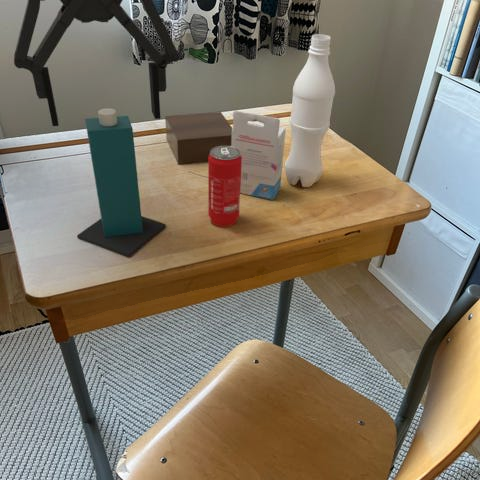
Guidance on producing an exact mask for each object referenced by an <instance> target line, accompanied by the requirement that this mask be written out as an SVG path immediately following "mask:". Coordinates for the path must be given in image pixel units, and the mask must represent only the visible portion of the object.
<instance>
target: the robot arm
mask: <svg viewBox="0 0 480 480" xmlns="http://www.w3.org/2000/svg"><path fill="white" fill-rule="evenodd" d="M45 1H46V0H27V3H26V7H25V11H24V16H23V19H22V23H21V25H20V26H21V27H20V30H19V35H18V38H17V42H16V46H15V51H14V53H13V54H14V55H13V64H14V66H15V67H16V68H17V69H24V70H27V71H29V72H30V73H31V75H32V79H33V83H34V88H35V93H36V96H37V98H38V99H39V100H41V99H42V100H43V99H47V100H46V101H47V105H48V110H49V114H50V120H51V125H52V127H59V117H58V113H57V107H56V102H55V98H54V92H53V87H52V82H51V81H52V80H51V76H50V71H49V67H48V66H46V64H47V62H48V61H49V59H50V57H51V56H52V55H53V52H54V51H55V49H56V47H57V46H58V45H59V42H61V39H62V38H63V36H64V35H65V33H66V32H67V30H68V28H69V27H70V26H71V25H72V23H73V21H74V20H76V21H79V22H81V23H82V24H88V23H92V22H99V23H109V21H111V20H112V19H113V18H115V20H117V22H118V23H119V24H120V25H121V26H122V27H123V28H124V29H125V30H126V32H128V33H129V35H130V36H131V37H132V38H133V40H135V42H136V43H137V44H138V45H139V46H140V48H142V50H143V51H144V52H145V53H146V54H147V55H148V56H149V57H150V58H151V60H152V62H148V77H149V79H148V80H149V91H150V105H151V107H150V108H151V114H152V115H153V117H154V119H155V120H160V119H161V118H162V117H161V103H160V102H161V101H160V93H162V92H166V90H167V70H166V69H167V67H168V64H171V63H174V62H175V63H176V62H178V60H179V59H180V54H179V52H178V50H177V48H176V46H175V44H174V42H173V40H172V37H171V36H170V33H169V32H168V29H167V27H166V25H165V24H164V21H163V19H162V17H161V15H160V13H159V11H158V9H157V7H156V5H155V3H154V2H153V0H139V1H140V4H141V5H142V7H143V9H144V11H145V13H146V15H147V17H148V19H149V21H150V23H151V25H152V27H153V28H154V31H155V33H156V34H157V37H158V38H159V40H160V43H161V44H162V47H163V48H164V50H162V51H160V50H159V49H158V48H157V47H156V46H155V44H154V43H153V42H152V41H151V40H150V39H149V37H148V36H147V35H146V34H145V33H144V32H143V30H142V29H141V28H140V27H139V26H138V25H137V24H136V22H135V21H134V20H133V19H132V17H131V16H130V15H129V14H128V13H127V11H126V10H125V9H124V8H123V7H122V6H121V4H122V2H123V0H59V1H60V3H62V5H61V6H60V9H59V10H58V12H57V15H56V17H55V18H54V20H53V21H52V23H51V25H50V26H49V28H48V30H47V32H46V33H45V35H44V37H42V40H41V42H40V43H39V45H38V47H37V48H36V49H35V51H34V54H32V56H30V55H28V54H29V50H30V48H31V44H32V40H33V35H34V31H35V27H36V24H37V20H38V17H39V14H40V13H39V12H40V8H41V2H45Z"/></svg>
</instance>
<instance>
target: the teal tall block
mask: <svg viewBox="0 0 480 480" xmlns="http://www.w3.org/2000/svg"><path fill="white" fill-rule="evenodd" d="M97 115H98V117H90V118H85V119H84V121H85V127H86V133H87V139H88V145H89V151H90V152H89V153H90V156H91V157H90V159H91V164H92V170H93V178H94V182H95V189H96V195H97V202H98V207H99V213H100V219H101V220H102V226H103V231H104V235H105V237H111V236H119V235H127V234H135V233H143V227H142V218H141V216H142V209H141V198H140V192H139V191H140V189H139V179H138V171H137V170H138V169H137V168H138V167H137V160H136V159H137V158H136V149H135V139H134V129H133V128H134V127H133V125H132V122H131V120H130V117H129V115H117V111H116V110H115V109H114V108H109V107H108V108H101V109H99V110H98V111H97Z"/></svg>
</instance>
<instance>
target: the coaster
mask: <svg viewBox="0 0 480 480" xmlns="http://www.w3.org/2000/svg"><path fill="white" fill-rule="evenodd" d="M141 218H142V227H143V233H135V234H127V235H119V236H111V237H105V235H104V231H103V226H102V220H101V218H99V219H98V220H97V221H96V222H94V223H93V224H91V225H90V226H88V227H87V228H85V229H84V230H82V231H81V232H80V233H78V234H77V236H76V237H77V239H79V240H81V241H84V242H86V243H90V244H92V245H95V246H97V247H100V248H102V249H106V250H108V251H109V252H110V251H111V252H112V253H113V252H114V253H116V254H119V255H121V256H124V257H126V258H130V257H132V256H133V255H134V254H135V253H136V252H138V251H139V250H140V249H141V248H143V247H144V246H145V245H146V244H147V243H148V242H150V241H151V240H152V239H153V238H155V237H156V236H157V235H158V234H159V233H161V232H162V231H163V230H164V229H166V227H167V224H166V223H164V222H161V221H158V220H155V219H152V218H150V217H146V216H144V215H141Z"/></svg>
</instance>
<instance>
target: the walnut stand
mask: <svg viewBox="0 0 480 480" xmlns="http://www.w3.org/2000/svg"><path fill="white" fill-rule="evenodd" d="M164 119H165V120H164V123H165V137H166V142H167V144H168V147H169V148H170V150H171V152H172V154H173V156H174V158H175V161H176V162H177V164H178V165H187V164H188V165H189V164H197V163H199V164H200V163H207V162H208V157H209V155H210V151H211V149H212V148H214V147H217V146H231V147H232V128H233V126H232V125H231V124H230V123H229V121H228V120H227V118H226V117H225V116H224V114H223V113H222V111H215V112H201V113H189V114H188V113H187V114H176V115H165V116H164Z"/></svg>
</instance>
